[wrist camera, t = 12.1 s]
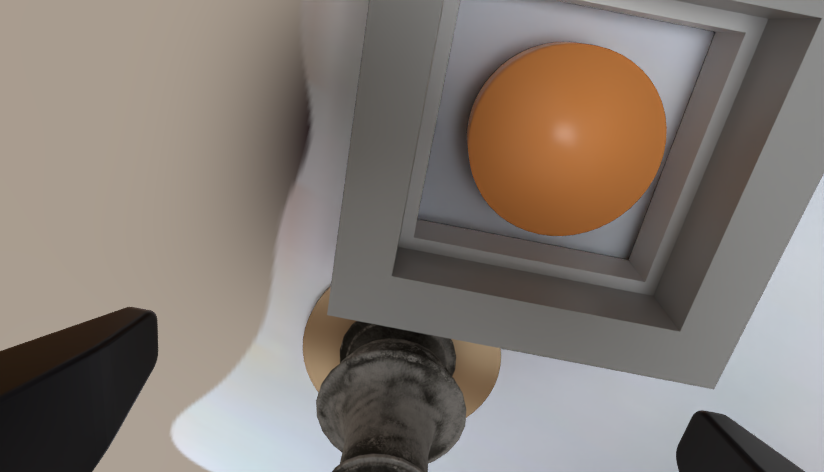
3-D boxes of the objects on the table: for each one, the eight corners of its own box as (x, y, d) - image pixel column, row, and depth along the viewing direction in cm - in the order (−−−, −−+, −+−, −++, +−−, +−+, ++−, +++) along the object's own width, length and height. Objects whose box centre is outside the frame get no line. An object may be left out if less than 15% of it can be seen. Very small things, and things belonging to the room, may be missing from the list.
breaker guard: (665, 321, 23) (713, 389, 18) (349, 261, 22) (326, 314, 18) (819, -34, 17) (938, -52, 13) (405, -116, 17) (390, -161, 13)
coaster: (475, 440, 26) (475, 449, 25) (297, 407, 26) (294, 415, 25) (522, 283, 22) (523, 290, 22) (316, 244, 22) (313, 249, 22)
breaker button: (611, 231, 21) (627, 251, 19) (450, 200, 21) (451, 217, 19) (672, 61, 18) (697, 65, 16) (489, 25, 18) (494, 25, 16)
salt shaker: (362, 281, 22) (284, 548, 11) (486, 333, 23) (529, 634, 12) (314, 381, 24) (209, 687, 13) (428, 426, 25) (419, 752, 14)
